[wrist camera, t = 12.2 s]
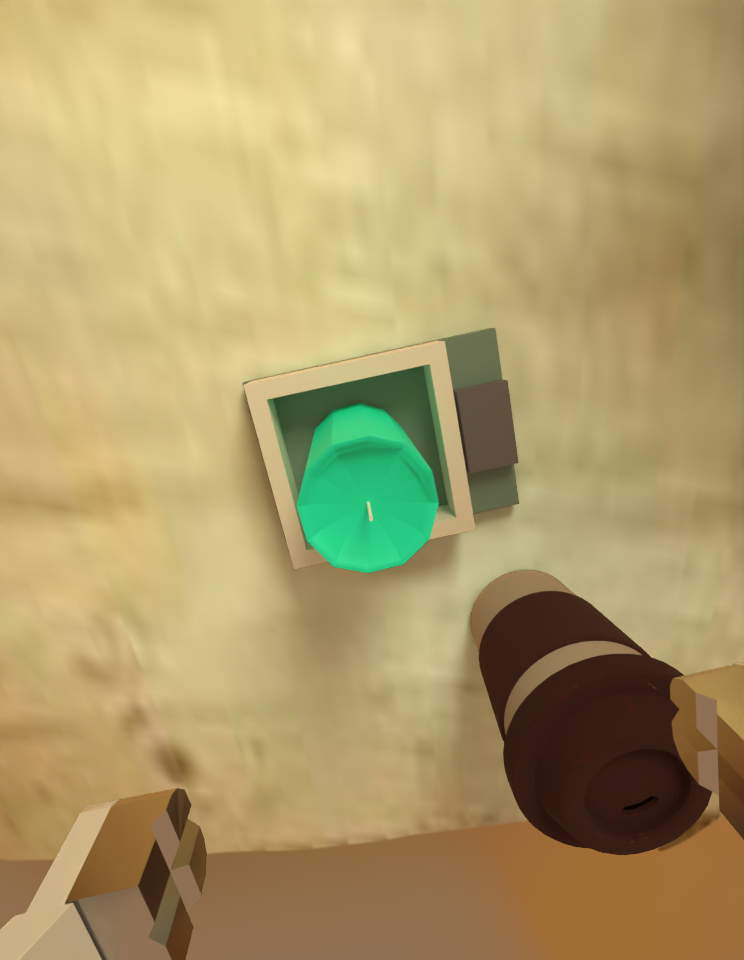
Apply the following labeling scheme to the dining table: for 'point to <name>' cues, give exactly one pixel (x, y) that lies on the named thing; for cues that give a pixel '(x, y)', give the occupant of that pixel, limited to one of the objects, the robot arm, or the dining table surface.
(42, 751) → the dining table surface
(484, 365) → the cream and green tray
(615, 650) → the coffee cup
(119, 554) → the dining table surface
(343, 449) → the candle
